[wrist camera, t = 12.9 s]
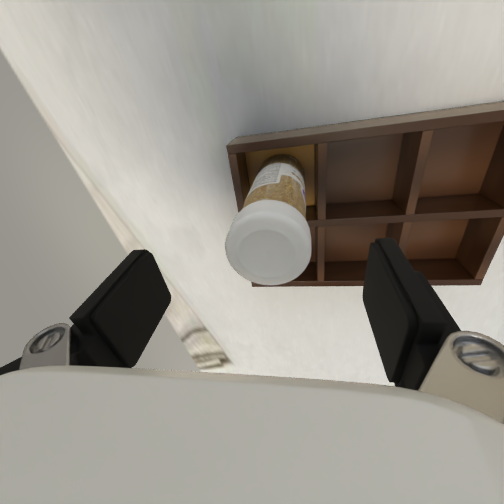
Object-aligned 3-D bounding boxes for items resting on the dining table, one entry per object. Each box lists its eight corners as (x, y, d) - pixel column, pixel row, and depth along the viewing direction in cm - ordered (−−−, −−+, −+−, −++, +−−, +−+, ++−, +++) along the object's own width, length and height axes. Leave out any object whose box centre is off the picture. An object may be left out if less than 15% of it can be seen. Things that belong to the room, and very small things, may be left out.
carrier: (236, 137, 23) (226, 145, 20) (517, 99, 18) (566, 101, 15) (256, 265, 31) (252, 286, 28) (457, 260, 26) (480, 285, 23)
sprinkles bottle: (311, 189, 24) (324, 277, 13) (268, 206, 25) (246, 296, 14) (294, 143, 22) (292, 200, 11) (249, 164, 23) (206, 232, 12)
